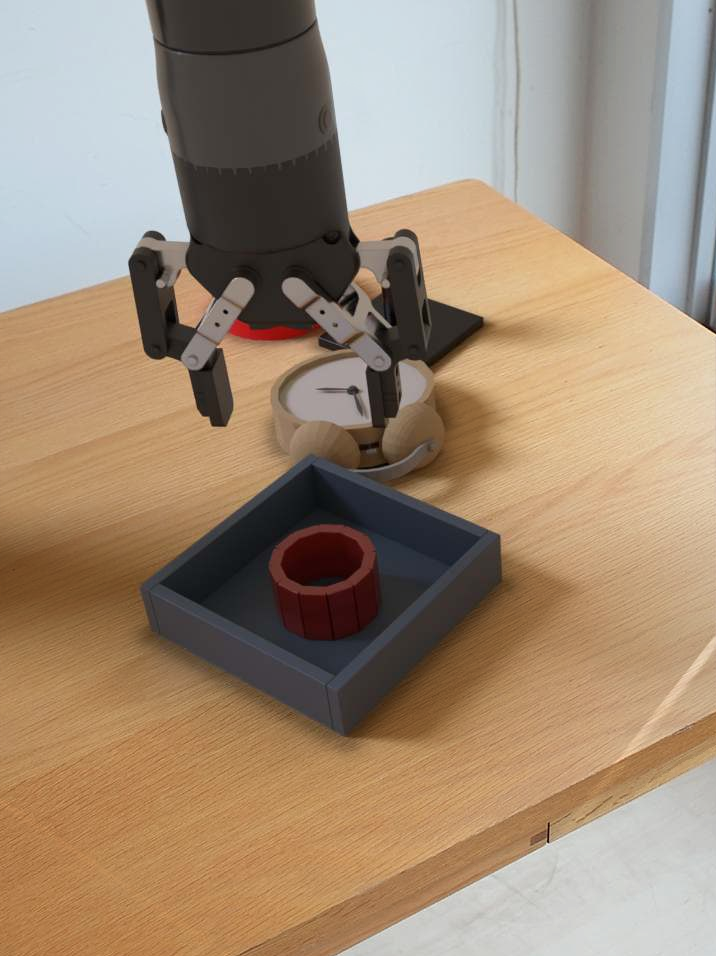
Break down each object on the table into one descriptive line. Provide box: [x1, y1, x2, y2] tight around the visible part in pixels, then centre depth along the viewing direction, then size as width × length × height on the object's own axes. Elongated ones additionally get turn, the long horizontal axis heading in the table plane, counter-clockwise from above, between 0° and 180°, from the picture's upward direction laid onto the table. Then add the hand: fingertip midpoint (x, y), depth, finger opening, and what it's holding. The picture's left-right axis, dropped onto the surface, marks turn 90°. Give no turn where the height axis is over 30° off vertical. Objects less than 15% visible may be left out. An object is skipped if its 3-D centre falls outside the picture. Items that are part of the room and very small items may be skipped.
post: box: [317, 236, 485, 369], centre depth 98 cm, size 9×9×8 cm
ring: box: [268, 524, 382, 641], centre depth 76 cm, size 6×6×4 cm
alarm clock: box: [269, 349, 445, 484], centre depth 89 cm, size 11×5×15 cm
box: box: [139, 453, 503, 738], centre depth 77 cm, size 15×15×4 cm
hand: (302, 418), depth 70 cm, fingers open, 8 cm apart
